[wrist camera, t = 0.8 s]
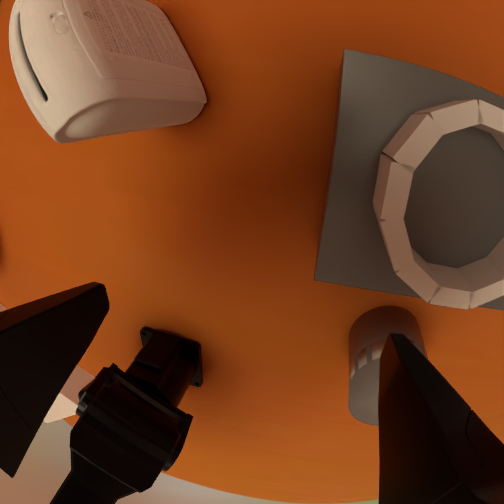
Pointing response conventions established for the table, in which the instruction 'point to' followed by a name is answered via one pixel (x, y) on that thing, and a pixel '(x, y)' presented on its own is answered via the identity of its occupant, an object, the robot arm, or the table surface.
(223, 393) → the table surface
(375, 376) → the grey rounded block
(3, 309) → the triangle block
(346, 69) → the gray ring-topped block
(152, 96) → the white rounded device
